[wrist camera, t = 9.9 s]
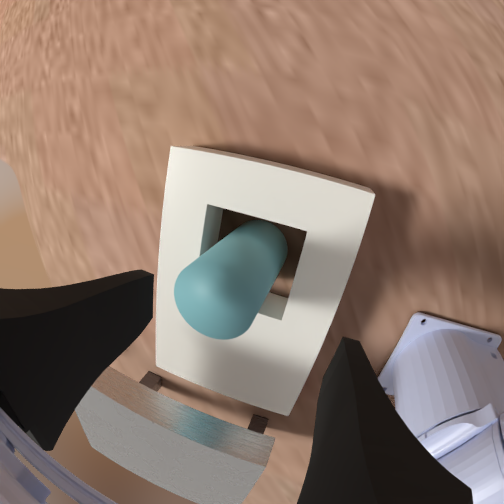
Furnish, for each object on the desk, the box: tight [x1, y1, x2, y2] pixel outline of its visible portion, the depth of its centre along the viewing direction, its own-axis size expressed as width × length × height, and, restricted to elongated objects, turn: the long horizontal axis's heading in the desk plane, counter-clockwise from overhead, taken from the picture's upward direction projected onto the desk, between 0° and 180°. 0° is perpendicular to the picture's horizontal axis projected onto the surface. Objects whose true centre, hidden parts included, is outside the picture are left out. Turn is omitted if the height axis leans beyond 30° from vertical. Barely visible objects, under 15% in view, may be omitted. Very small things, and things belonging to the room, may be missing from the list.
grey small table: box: [75, 366, 275, 504], centre depth 21 cm, size 14×12×11 cm
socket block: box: [156, 146, 375, 416], centre depth 20 cm, size 12×18×3 cm, turn 168°
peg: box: [174, 220, 288, 340], centre depth 17 cm, size 4×4×8 cm
